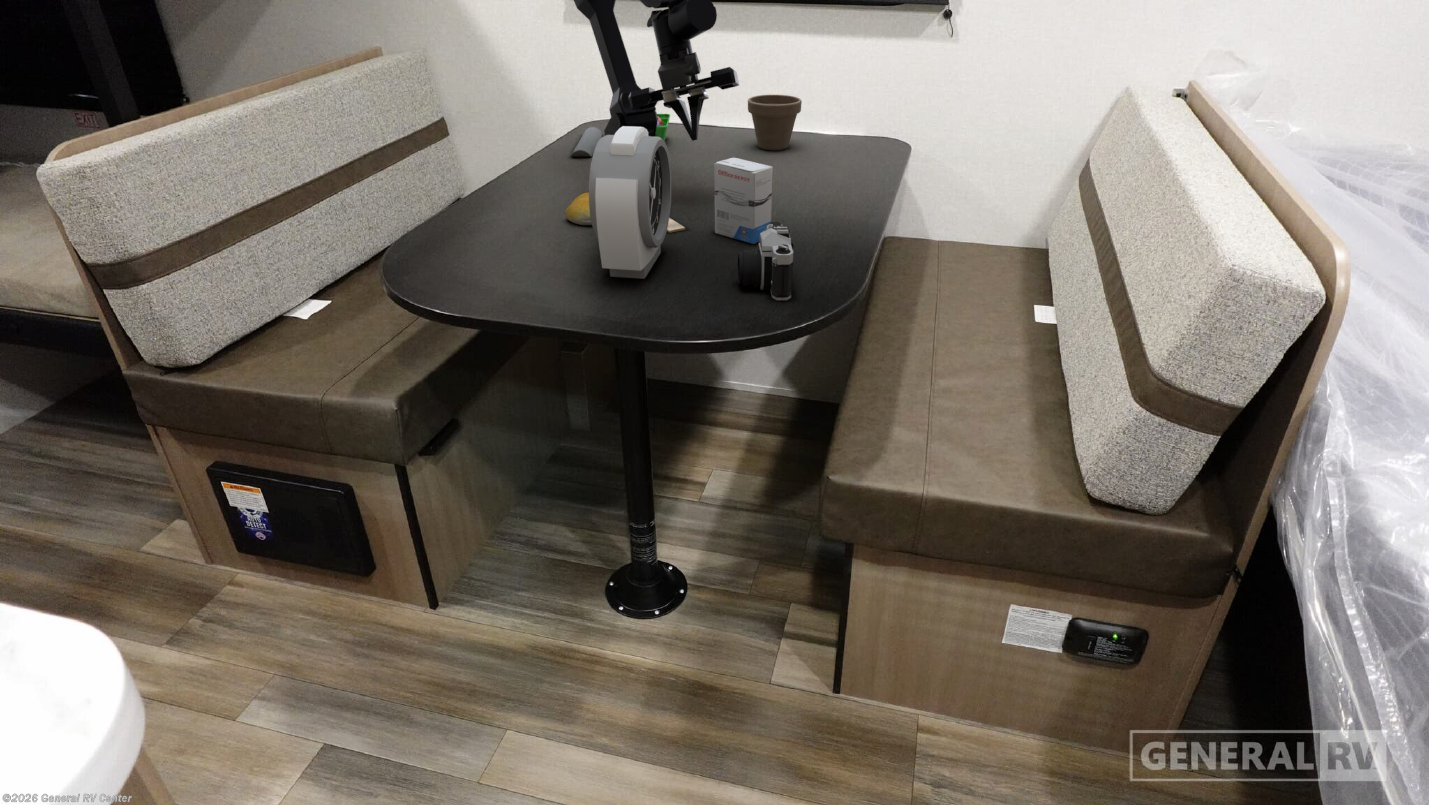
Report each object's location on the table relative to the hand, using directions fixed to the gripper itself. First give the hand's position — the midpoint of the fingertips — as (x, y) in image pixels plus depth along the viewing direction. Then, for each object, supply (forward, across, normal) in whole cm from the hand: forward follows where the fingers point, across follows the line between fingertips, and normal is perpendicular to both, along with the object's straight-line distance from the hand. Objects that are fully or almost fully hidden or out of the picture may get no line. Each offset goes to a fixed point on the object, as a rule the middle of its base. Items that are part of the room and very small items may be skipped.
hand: (694, 140), depth 154 cm
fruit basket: (-4, -16, +40) cm, 43 cm away
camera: (+24, +10, -31) cm, 41 cm away
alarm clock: (+18, -9, -27) cm, 33 cm away
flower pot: (+3, +10, +41) cm, 42 cm away
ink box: (+17, +6, -13) cm, 22 cm away
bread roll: (+9, -19, -8) cm, 23 cm away
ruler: (+11, -8, -6) cm, 16 cm away
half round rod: (-6, -29, +36) cm, 47 cm away
